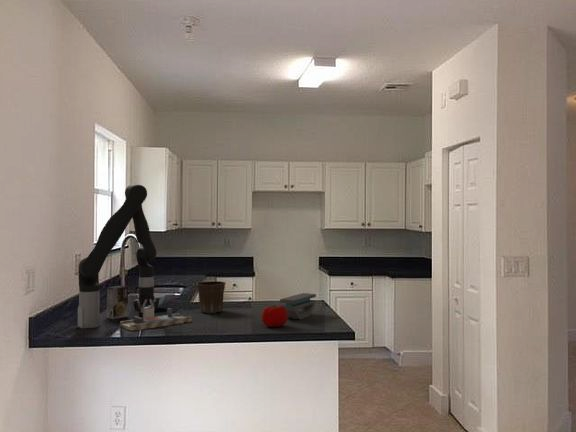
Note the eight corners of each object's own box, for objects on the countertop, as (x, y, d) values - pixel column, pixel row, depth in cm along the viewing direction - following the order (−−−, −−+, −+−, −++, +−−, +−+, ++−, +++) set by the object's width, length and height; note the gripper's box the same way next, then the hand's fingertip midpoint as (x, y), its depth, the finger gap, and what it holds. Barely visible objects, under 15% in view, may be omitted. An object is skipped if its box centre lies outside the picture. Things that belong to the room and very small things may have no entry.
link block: (144, 321, 264) (144, 309, 264) (138, 319, 269) (138, 307, 269) (154, 320, 267) (154, 308, 267) (147, 318, 272) (147, 306, 272)
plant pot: (200, 315, 281) (200, 285, 281) (193, 310, 296) (193, 282, 296) (229, 313, 288) (229, 283, 288) (220, 308, 302) (220, 280, 302)
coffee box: (121, 315, 281) (121, 285, 281) (128, 316, 277) (128, 286, 277) (106, 317, 274) (106, 287, 274) (113, 319, 270) (113, 288, 270)
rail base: (131, 330, 242) (131, 321, 242) (119, 326, 252) (119, 317, 252) (191, 321, 263) (191, 312, 263) (178, 318, 273) (178, 309, 273)
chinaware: (149, 312, 290) (149, 298, 290) (132, 309, 299) (132, 296, 299) (170, 308, 302) (170, 295, 302) (153, 306, 311) (153, 293, 311)
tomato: (290, 328, 248) (290, 306, 248) (264, 329, 245) (264, 307, 245) (283, 323, 259) (283, 303, 259) (259, 325, 255) (259, 304, 255)
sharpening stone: (303, 312, 289) (303, 293, 289) (315, 314, 285) (315, 294, 285) (280, 320, 267) (280, 299, 267) (293, 321, 263) (293, 300, 263)
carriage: (147, 324, 250) (147, 313, 250) (138, 321, 256) (138, 310, 256) (177, 319, 260) (177, 309, 260) (168, 317, 267) (168, 307, 267)
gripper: (136, 287, 261) (136, 321, 260) (162, 285, 270) (162, 318, 270) (129, 286, 266) (129, 319, 266) (155, 283, 276) (155, 316, 276)
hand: (146, 318), depth 268 cm, fingers closed on link block, 5 cm apart
